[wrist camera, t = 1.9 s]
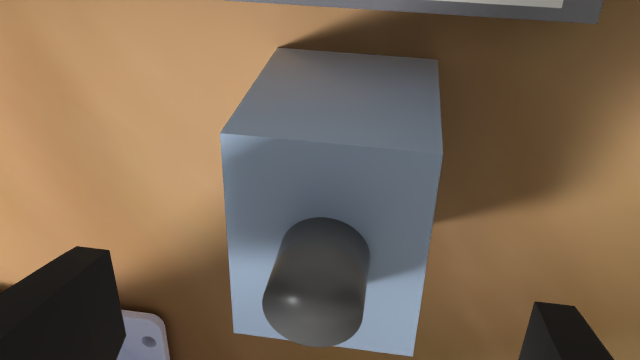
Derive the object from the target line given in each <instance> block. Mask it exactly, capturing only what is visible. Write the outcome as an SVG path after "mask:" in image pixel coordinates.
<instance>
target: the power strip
mask: <svg viewBox="0 0 640 360" xmlns="http://www.w3.org/2000/svg"><path fill="white" fill-rule="evenodd" d="M228 1H243V2H259V3H275V4H290V5H306V6H321V7H337V8H353V9H368V10H384V11H400V12H415V13H431V14H446V15H462V16H478V17H493V18H509V19H524V20H540V21H556V22H571V23H587V24H598V20H599V16H600V12H601V9H602V5H603V1H604V0H228Z"/></svg>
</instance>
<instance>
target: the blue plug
mask: <svg viewBox="0 0 640 360" xmlns="http://www.w3.org/2000/svg"><path fill="white" fill-rule="evenodd" d="M220 140H221V154H222V169H223V184H224V198H225V213H226V227H227V242H228V257H229V271H230V286H231V300H232V315H233V330H234V333H238V334H245V335H253V336H261V337H268V338H276V339H283V340H290V341H292V342H295V343H298V344H301V345H304V346H310V347H330V346H336V347H344V348H351V349H359V350H366V351H374V352H382V353H389V354H397V355H404V356H412V357H413V352H414V345H415V339H416V332H417V325H418V319H419V312H420V305H421V298H422V292H423V285H424V278H425V272H426V265H427V258H428V252H429V245H430V238H431V232H432V225H433V218H434V212H435V205H436V198H437V192H438V185H439V178H440V172H441V165H442V158H443V142H442V125H441V107H440V90H439V73H438V59H426V58H413V57H399V56H386V55H372V54H359V53H345V52H332V51H318V50H305V49H291V48H277V49H276V51H275V52H274V54H273V55H272V57H271V58H270V60H269V61H268V63H267V64H266V66H265V67H264V69H263V70H262V72H261V73H260V74H259V76H258V77H257V79H256V80H255V82H254V83H253V85H252V86H251V88H250V89H249V91H248V92H247V94H246V95H245V97H244V98H243V100H242V101H241V103H240V104H239V106H238V107H237V109H236V110H235V112H234V113H233V115H232V116H231V118H230V119H229V121H228V122H227V124H226V125H225V126H224V128H223V129H222V131H221V132H220Z"/></svg>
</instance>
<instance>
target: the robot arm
mask: <svg viewBox="0 0 640 360" xmlns="http://www.w3.org/2000/svg"><path fill="white" fill-rule="evenodd" d="M150 337H152V338H153V339H152V338H150ZM0 360H170V356H169V349H168V342H167V336H166V329H165V325H164V322H163V321H162V320H161V318H160V317H158V316H156V315H154V314H151V313H144V312H136V311H128V310H121V306H120V301H119V296H118V291H117V286H116V281H115V276H114V271H113V266H112V261H111V256H110V251H109V250H103V249H95V248H87V247H78V246H76V247H75V248H73V249H71V250H69V251H68V252H66V253H64V254H62V255H61V256H59V257H57V258H56V259H54V260H53V261H51V262H49V263H48V264H46V265H44V266H43V267H41V268H40V269H38V270H37V271H35V272H33V273H32V274H30V275H29V276H27V277H26V278H24V279H22V280H21V281H19V282H18V283H16V284H15V285H13V286H11V287H10V288H8V289H7V290H5V291H3V292H2V293H0ZM519 360H614V359H613V358H612V356H611V355H610V353H609V352H608V351H607V349H606V348H605V347H604V345H603V344H602V342H601V341H600V340H599V338H598V337H597V336H596V334H595V333H594V331H593V330H592V329H591V327H590V326H589V325H588V323H587V322H586V321H585V319H584V318H583V316H582V315H581V314H580V312H579V311H578V310H577V309H576V307H575V306H569V305H560V304H552V303H544V302H535V303H534V306H533V310H532V313H531V317H530V320H529V324H528V328H527V331H526V335H525V338H524V342H523V345H522V349H521V353H520V356H519Z"/></svg>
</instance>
